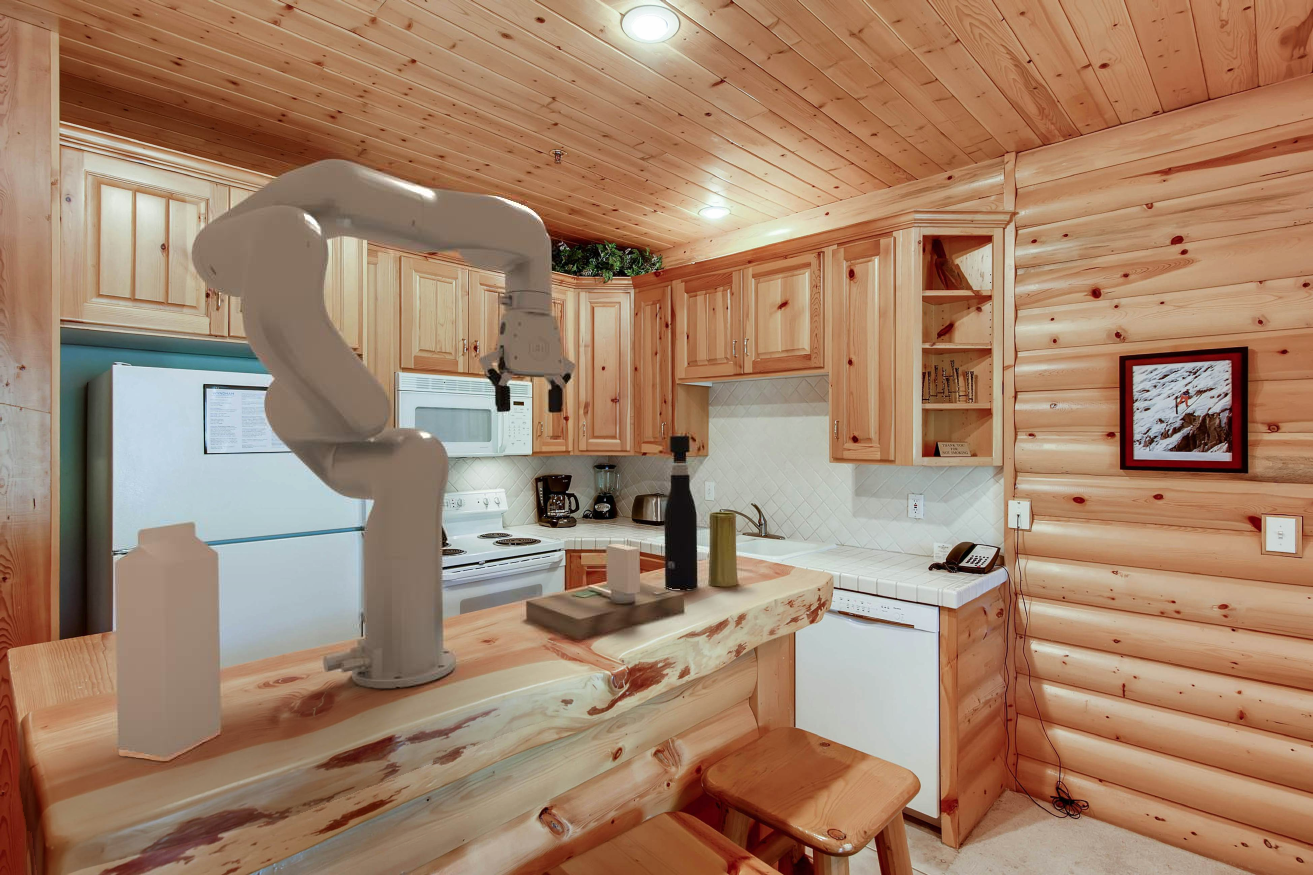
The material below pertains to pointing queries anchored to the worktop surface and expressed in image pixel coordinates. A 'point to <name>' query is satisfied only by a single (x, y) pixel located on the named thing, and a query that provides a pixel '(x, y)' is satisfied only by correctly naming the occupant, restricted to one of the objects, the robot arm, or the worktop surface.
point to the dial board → (601, 610)
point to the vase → (723, 550)
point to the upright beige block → (621, 573)
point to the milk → (167, 642)
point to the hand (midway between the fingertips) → (530, 412)
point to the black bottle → (680, 523)
